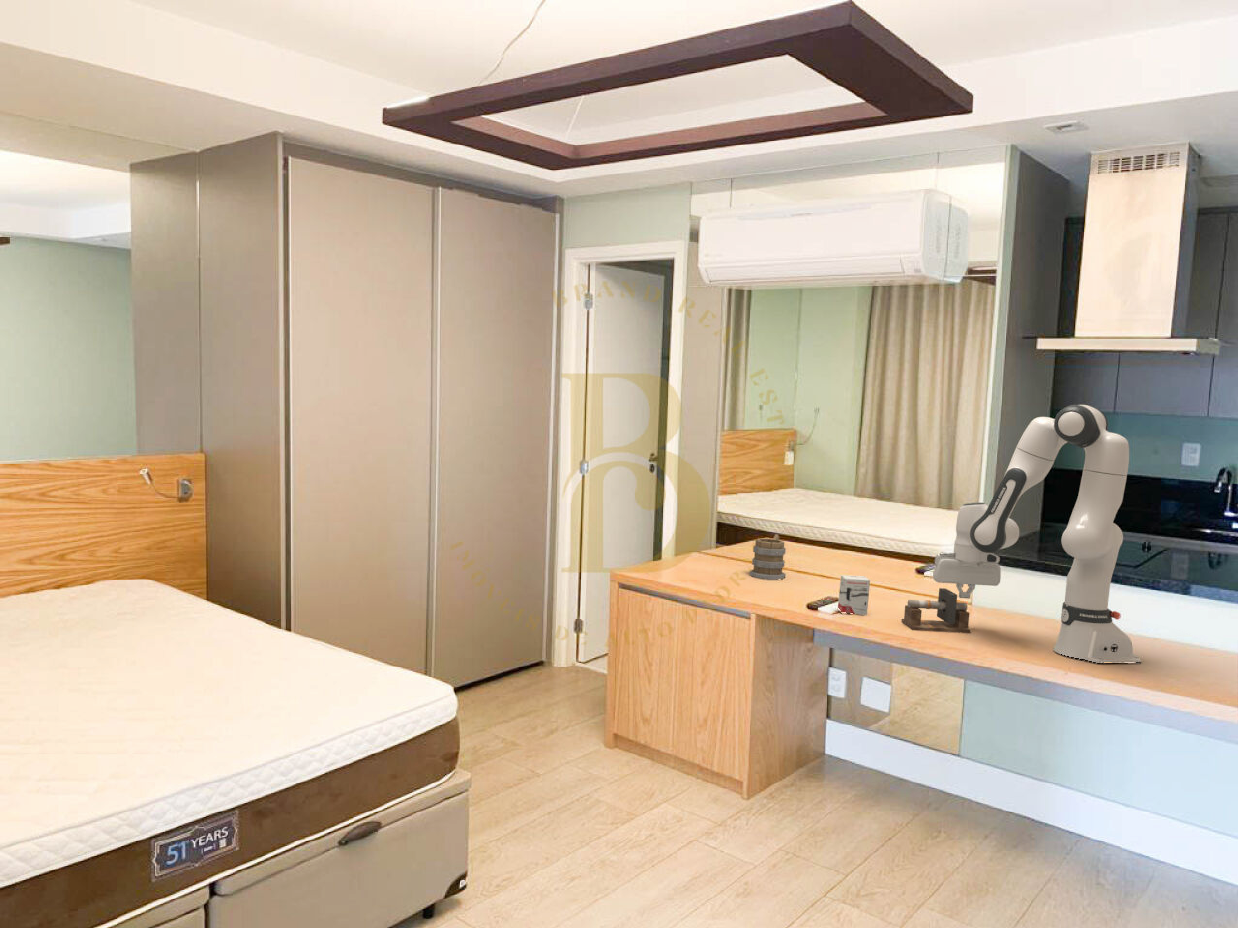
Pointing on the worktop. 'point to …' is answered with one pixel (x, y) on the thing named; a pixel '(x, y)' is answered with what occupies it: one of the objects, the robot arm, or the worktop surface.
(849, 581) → the ink box
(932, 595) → the worktop surface
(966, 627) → the pipe stand
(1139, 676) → the worktop surface
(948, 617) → the dark grey flat slab
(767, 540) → the tankard
